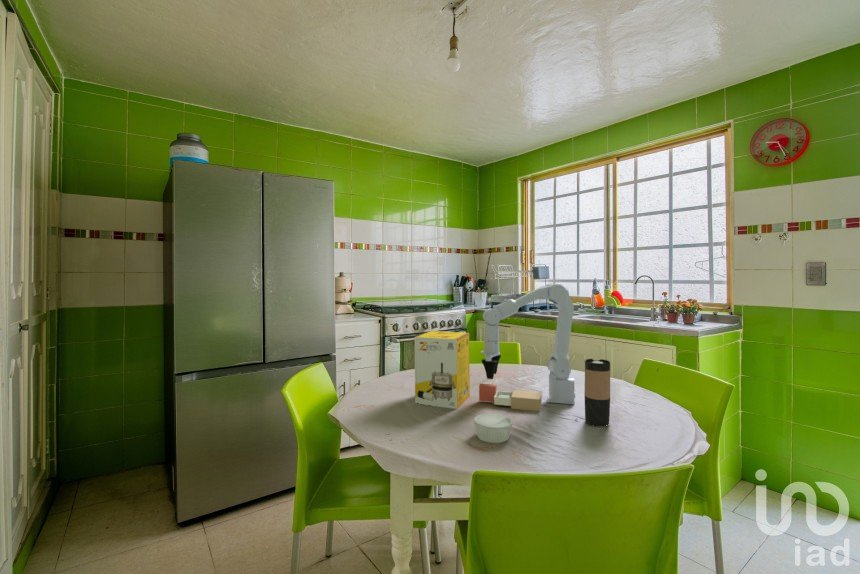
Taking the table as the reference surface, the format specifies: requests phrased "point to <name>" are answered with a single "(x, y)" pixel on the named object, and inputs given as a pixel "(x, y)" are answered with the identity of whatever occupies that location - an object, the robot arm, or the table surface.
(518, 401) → the sleeve
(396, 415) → the table surface
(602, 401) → the travel mug
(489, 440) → the ramekin
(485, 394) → the red and white box
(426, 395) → the packaging box
